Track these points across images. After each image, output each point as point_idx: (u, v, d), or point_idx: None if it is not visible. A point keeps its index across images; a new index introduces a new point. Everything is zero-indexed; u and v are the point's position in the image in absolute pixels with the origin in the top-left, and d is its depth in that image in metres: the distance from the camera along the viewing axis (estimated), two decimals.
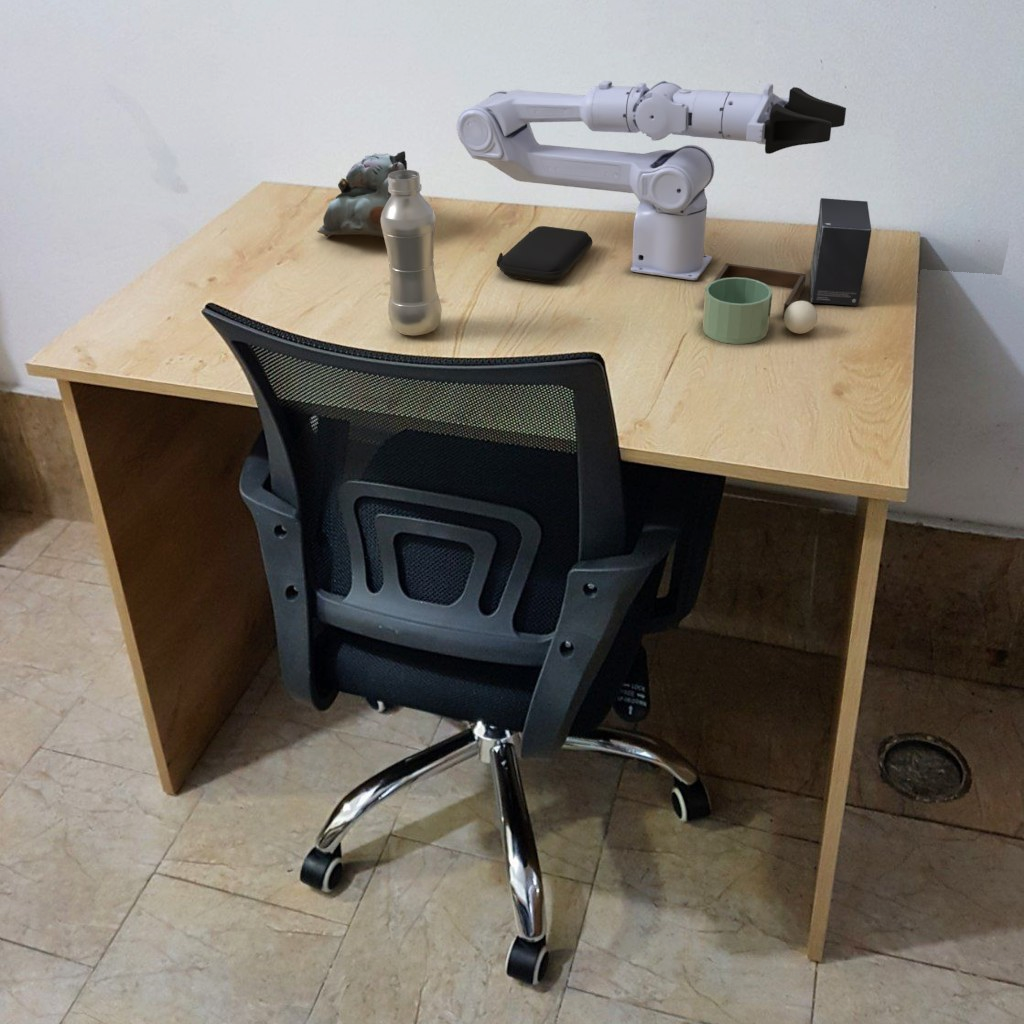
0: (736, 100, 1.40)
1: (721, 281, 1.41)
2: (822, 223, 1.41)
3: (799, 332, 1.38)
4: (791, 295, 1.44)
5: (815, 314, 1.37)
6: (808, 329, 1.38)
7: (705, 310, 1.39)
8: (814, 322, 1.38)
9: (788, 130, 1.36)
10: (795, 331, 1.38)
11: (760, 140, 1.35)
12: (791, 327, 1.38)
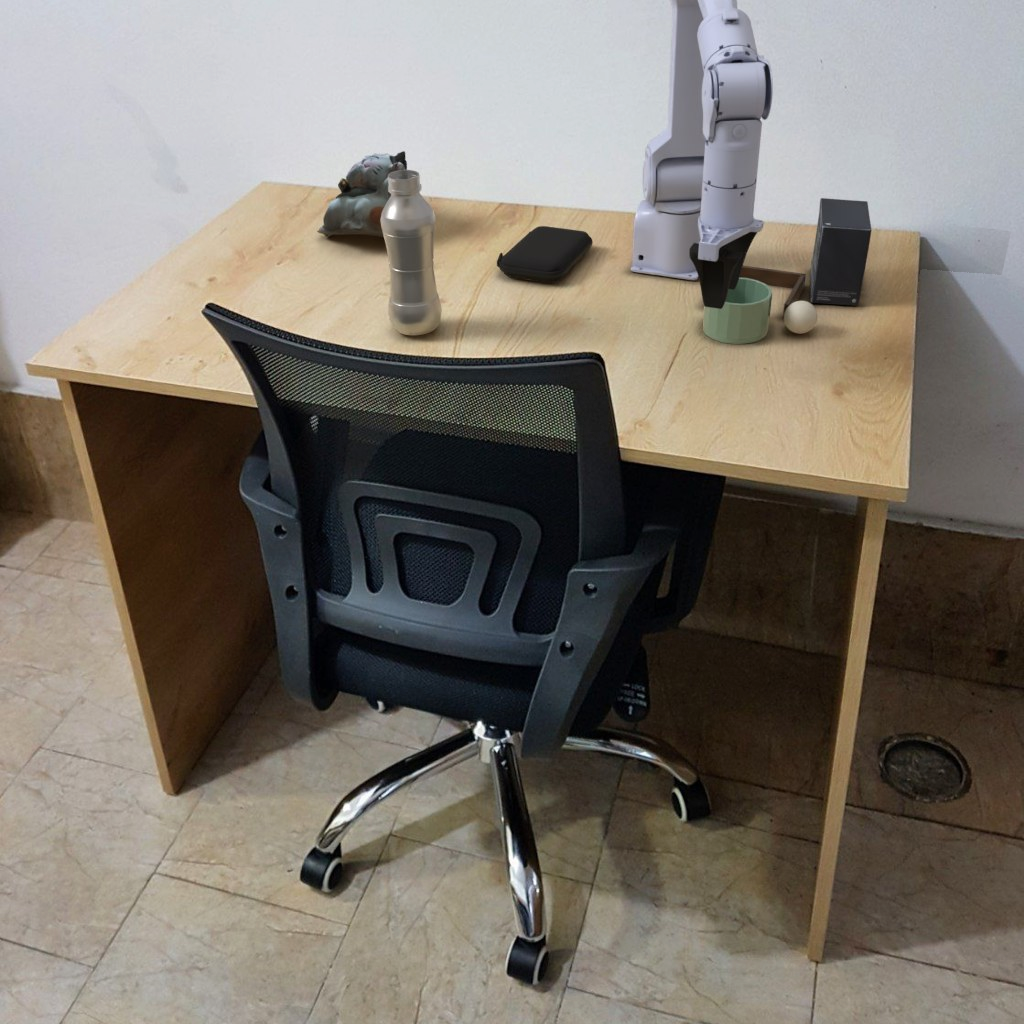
0: (745, 199, 1.20)
1: None
2: (822, 223, 1.41)
3: (799, 332, 1.38)
4: (791, 295, 1.44)
5: (815, 314, 1.37)
6: (808, 329, 1.38)
7: (705, 310, 1.39)
8: (814, 322, 1.38)
9: (714, 266, 1.24)
10: (795, 331, 1.38)
11: (699, 258, 1.20)
12: (791, 327, 1.38)
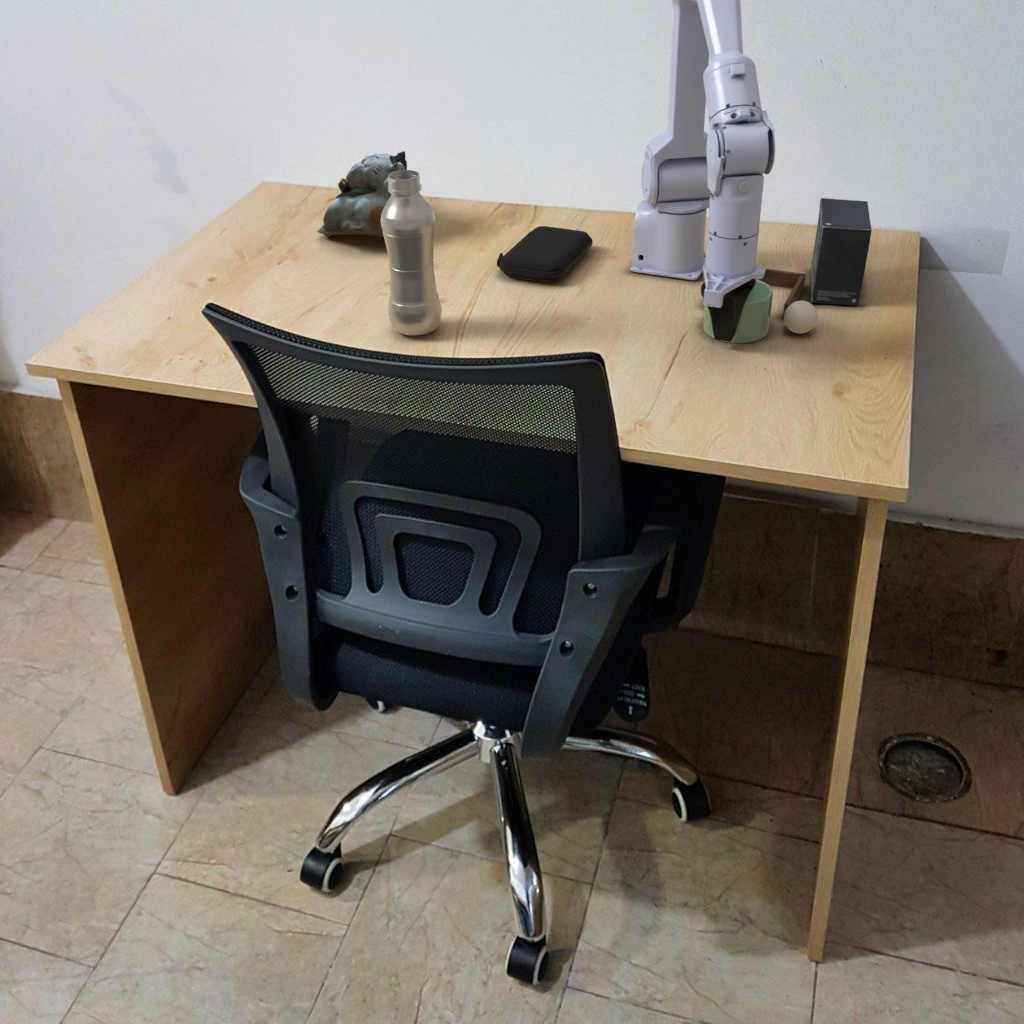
0: (748, 248, 1.27)
1: None
2: (822, 223, 1.41)
3: (799, 332, 1.38)
4: (791, 295, 1.44)
5: (815, 314, 1.37)
6: (808, 329, 1.38)
7: (706, 309, 1.39)
8: (814, 322, 1.38)
9: (724, 303, 1.33)
10: (795, 331, 1.38)
11: (704, 304, 1.27)
12: (791, 327, 1.38)
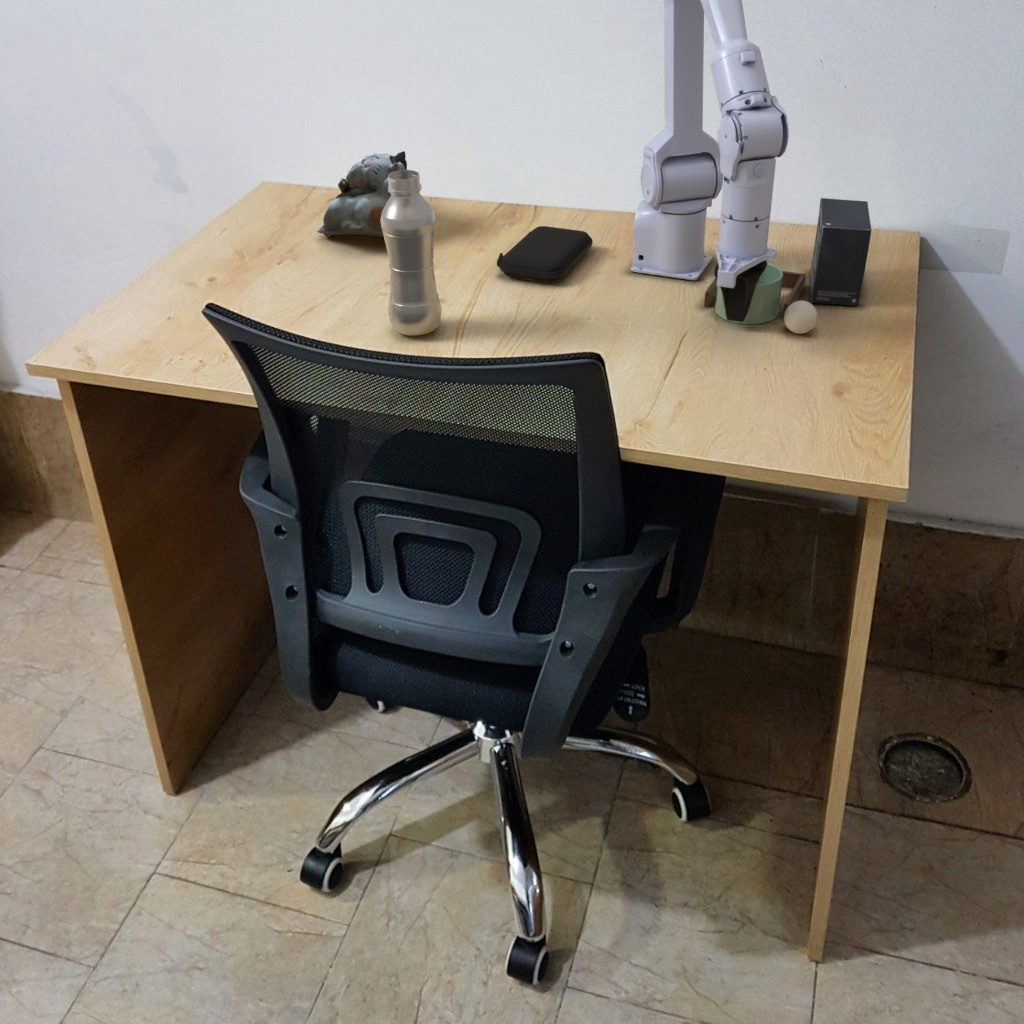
0: (760, 230, 1.31)
1: None
2: (822, 223, 1.41)
3: (799, 332, 1.38)
4: (791, 295, 1.44)
5: (815, 314, 1.37)
6: (808, 329, 1.38)
7: (718, 291, 1.43)
8: (814, 322, 1.38)
9: (736, 284, 1.37)
10: (795, 331, 1.38)
11: (718, 285, 1.31)
12: (791, 327, 1.38)
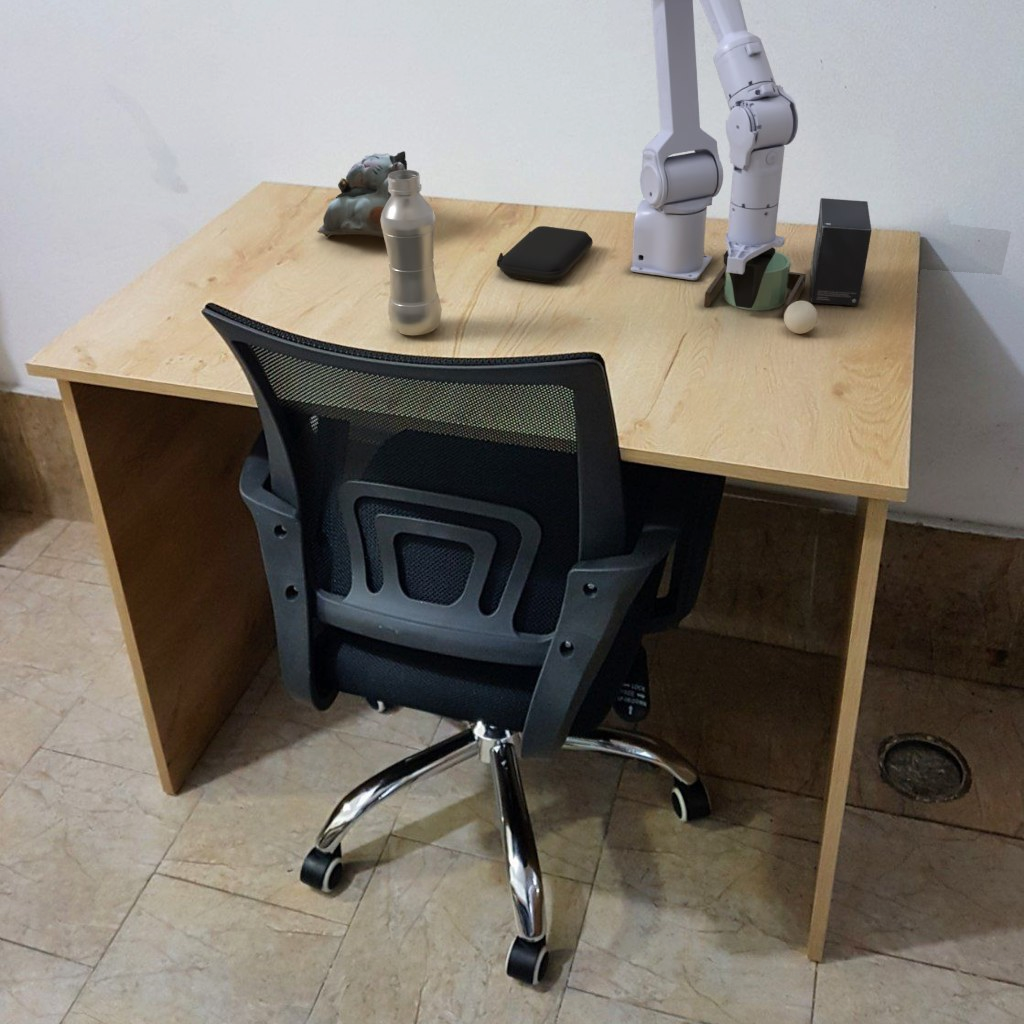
0: (769, 218, 1.34)
1: None
2: (822, 223, 1.41)
3: (799, 332, 1.38)
4: (791, 295, 1.44)
5: (815, 314, 1.37)
6: (808, 329, 1.38)
7: (726, 279, 1.46)
8: (814, 322, 1.38)
9: (745, 271, 1.40)
10: (795, 331, 1.38)
11: (728, 271, 1.34)
12: (791, 327, 1.38)
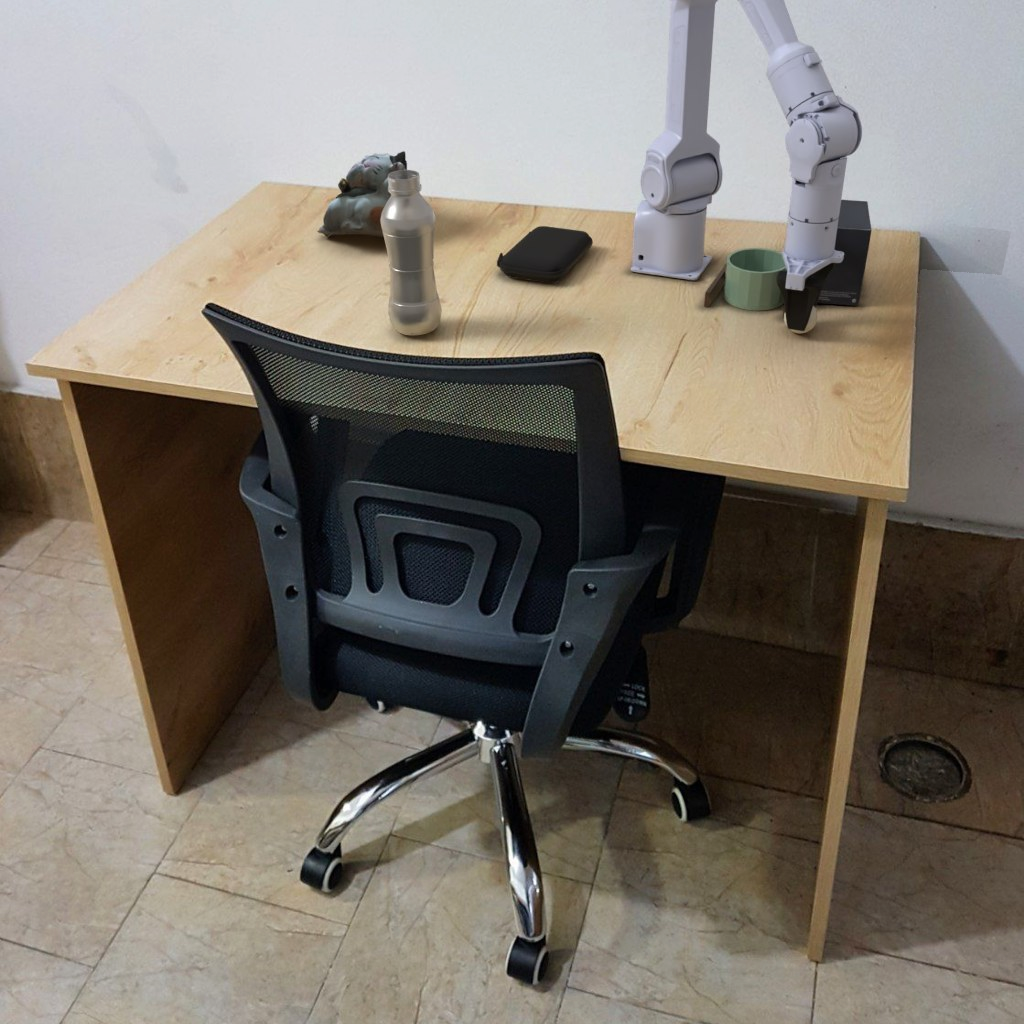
0: (829, 232, 1.30)
1: (741, 251, 1.48)
2: None
3: (799, 332, 1.38)
4: None
5: (815, 314, 1.38)
6: (808, 329, 1.38)
7: (726, 279, 1.46)
8: (814, 322, 1.38)
9: (799, 292, 1.34)
10: (795, 331, 1.38)
11: (787, 287, 1.30)
12: None
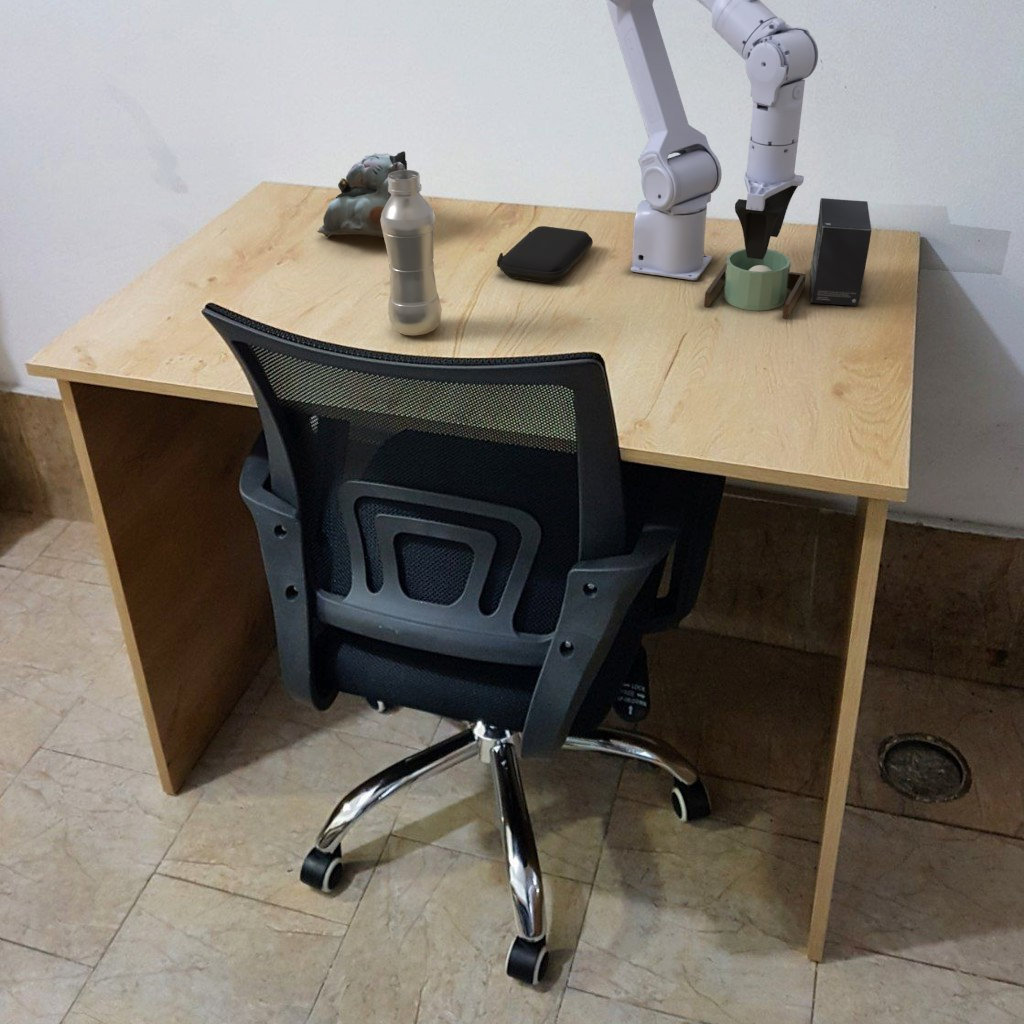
0: (788, 155, 1.35)
1: (741, 251, 1.48)
2: (822, 223, 1.41)
3: None
4: (791, 295, 1.44)
5: None
6: None
7: (726, 279, 1.46)
8: None
9: (757, 220, 1.38)
10: None
11: (747, 208, 1.34)
12: None
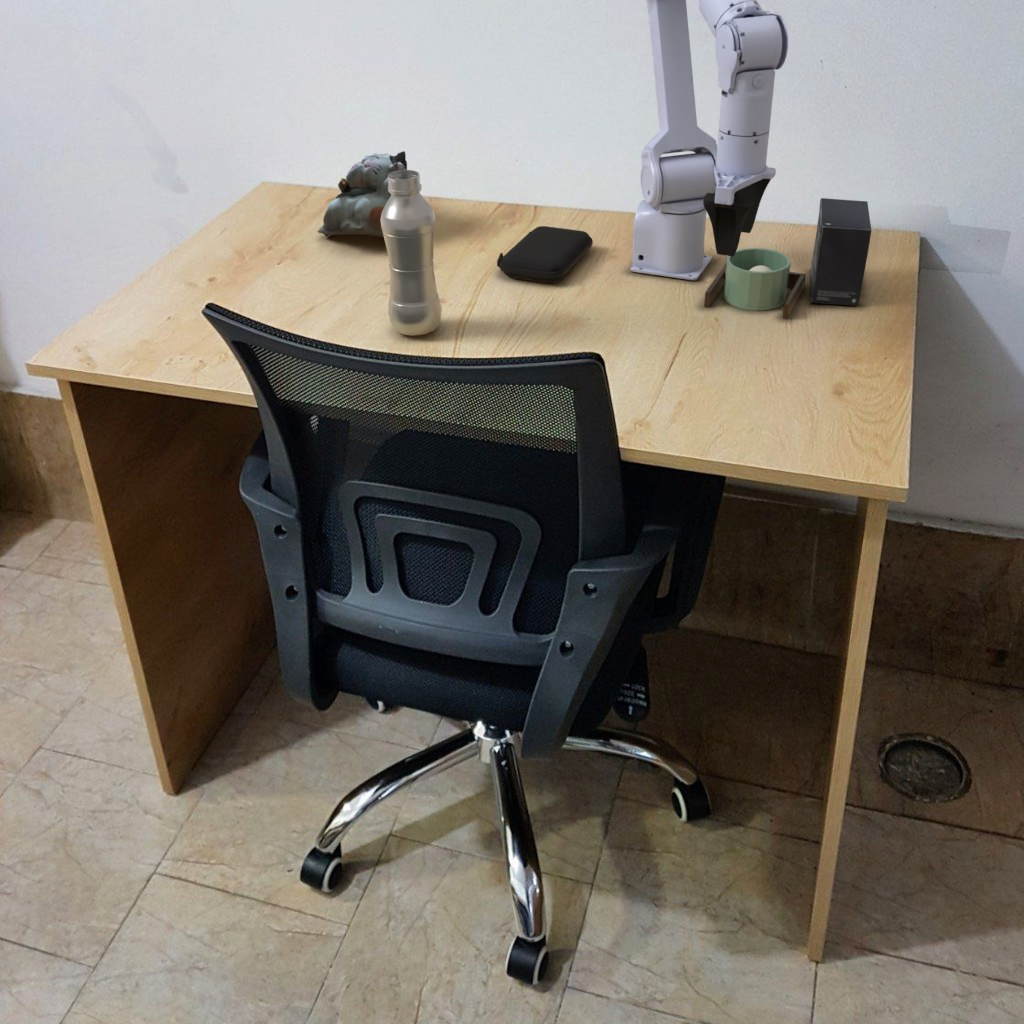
0: (759, 146, 1.28)
1: (741, 251, 1.48)
2: (822, 223, 1.41)
3: None
4: (791, 295, 1.44)
5: None
6: None
7: (726, 279, 1.46)
8: None
9: (727, 215, 1.31)
10: None
11: (716, 202, 1.28)
12: None
